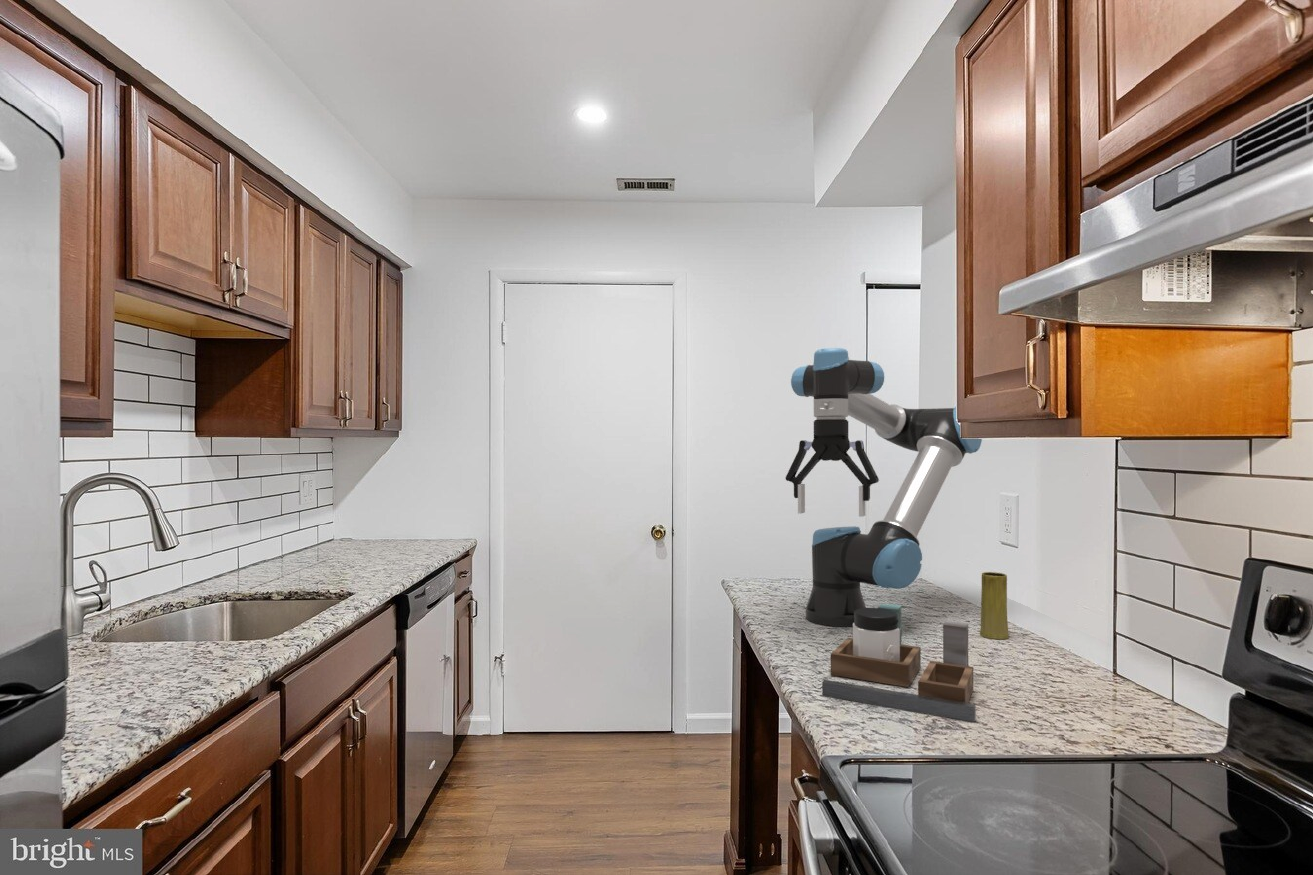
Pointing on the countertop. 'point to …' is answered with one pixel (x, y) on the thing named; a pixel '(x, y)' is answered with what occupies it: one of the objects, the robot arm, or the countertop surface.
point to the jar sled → (877, 661)
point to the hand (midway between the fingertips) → (831, 514)
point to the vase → (994, 606)
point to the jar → (876, 634)
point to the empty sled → (950, 667)
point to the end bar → (900, 700)
